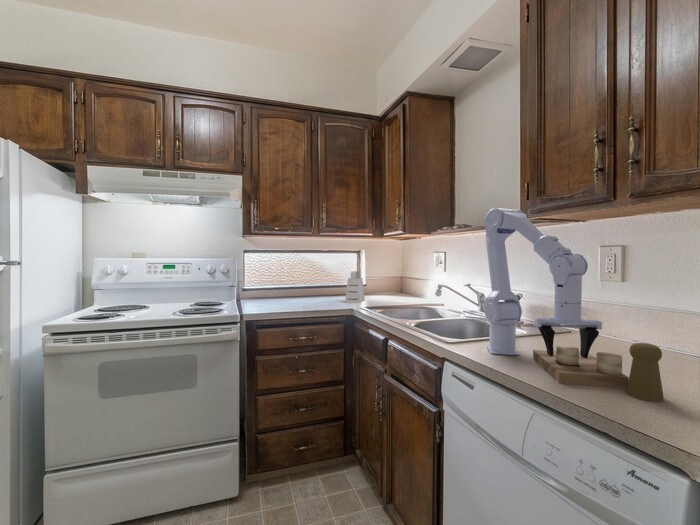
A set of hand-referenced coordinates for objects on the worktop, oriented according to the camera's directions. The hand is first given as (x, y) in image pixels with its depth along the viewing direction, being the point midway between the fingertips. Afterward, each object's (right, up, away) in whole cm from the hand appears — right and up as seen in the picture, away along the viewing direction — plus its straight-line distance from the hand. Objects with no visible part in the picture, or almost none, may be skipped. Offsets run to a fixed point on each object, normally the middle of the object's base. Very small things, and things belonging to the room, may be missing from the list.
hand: (566, 356), depth 87 cm
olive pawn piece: (+8, -5, -14) cm, 17 cm away
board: (+3, -4, +1) cm, 5 cm away
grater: (-51, -2, +136) cm, 146 cm away
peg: (0, -4, 0) cm, 4 cm away
